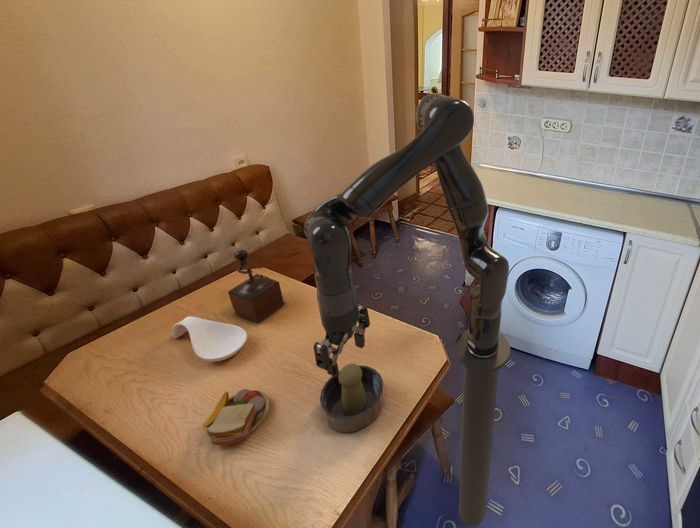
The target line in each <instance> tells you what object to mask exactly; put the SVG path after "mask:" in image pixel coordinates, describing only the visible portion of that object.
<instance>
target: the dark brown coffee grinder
mask: <svg viewBox="0 0 700 528" xmlns="http://www.w3.org/2000/svg"><path fill="white" fill-rule="evenodd" d="M248 255H249V254H248V251H247V250H246V249H238V250H237V251H236V252H235V253H234V254H233V257H234V259H236V260H237V261H239V266H238V267H237V269H236V270H237V273H239V274H244V275H248V277H249V278H248V279H246V280H244V281H242V282H241V283H239V284H237V285H236V286H234V287H233V288H231V289H229V290H228V291H227V294H228V296H229V300H230V303H231V306H232V309H233V311H234V314H235V315H236V316H237V317H238V318H241V319H244V320H246V321H249V322H252V323H254V324H256V325H259V324H260V323H261V322H263V321H265V320H266V319H268V318H269V317H270V316H272V314H274V313H276V312H277V311H279V309H281V308H282V307H283V306H284V305H285V301H284V298H283V293H282V290H281V289H282V288H281V285H280V282H279V281H278V280H275V279H273V278H270V277H268V276H265V275H263V274H258V273H256V274H254V275H253V270H252V267H251V266H247V267H246V268H245V269H246V270H242V269H243V268H244V266H246V265H247V264H248V263H249V262H250V260H249V259H248Z"/></svg>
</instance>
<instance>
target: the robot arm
mask: <svg viewBox="0 0 700 528" xmlns="http://www.w3.org/2000/svg"><path fill="white" fill-rule="evenodd" d="M415 120H416V124H417V127H418V130H419V133H418V134H417V135H416V136H415V137H414V138H413V139H412V140H411V141H410V142H408V143H407V144H405V145H404V146H402V147H401V148H399V149H397V150H396V151H394V152H392V153H390V154H389V155H387V156H385V157H383V158H381V159H379V160H377V161H376V162H374V163H373V164H370V165H369V167H368V168H366V169H365V170H364V171H362V172H361V173H360V174H359V175H358V176H357V177H356V178H354V180H353V181H352V182H351V183H349V185H347V187H345V188H344V190H343V191H341V192H339V193H337V194H335V195H334V196H332V197H330V198H328V199H327V200H326V201H324V202H323V203H320V205H318V206H317V207H315V208H314V209H313V210H312V211H311V212H310V213H309V215H307V217H306V218H305V220H304V224H303V232H304V235H305V238H306V240H307V243H308V245H309V249H310V252H311V256H312V261H313V265H314V266H313V276H314V282H315V288H316V299H317V305H318V311H319V314H320V320H321V325H322V328H323V329H324V331H325V336H324V339H323V340H322V341H321V342H318V341H316V342H314V343H313V353H314V359H315V365H316V367H317V368H320V369H322V370H324V371H326V373H327V375H329V376H330V377H332V376H333V377H334V376H335V377H337V376H338V375H339V371H340V370H339V365H338V362H337V361H338V358H339V355H341V354H342V353H343V349H344V346H345V345H346V344H347V342H348V341H349V340H350V339H352V338H353V339H354V345H355V346H356V347H358V348H359V349H364V347H365V346H366V345H365V343H366V338H365V334H366V329H367V328H368V329H369V328H370V326H371V321H370V316H369V311H368V307H367V306H364V305H361V304H359V303H358V302H359V301H358V295H357V288H356V285H355V282H354V275H353V269H352V263H351V262H352V240H351V234H350V231H349V228H347V226H348V225H350V223H352V222H354V221H355V220H356V219H361V220H367V219H369V218H370V217H372V216H373V215H374V214H375V213H376V212H377V211H379V210H380V209H381V207H383V205H384V204H386V203H387V202H388V201H389V200H390V199H391V198H392V197H393V196H394V195H395V194H397V192H398V191H399V190H401V188H403V187H404V186H405V185H406V184H407V183H409V182H410V181H411V180H412V179H414V178H415V177H416V176H418V175H419V174H420V173H421V172H423V171H424V170H425V169H427V168H428V167H430V166H431V165H432V164H434V166H435V170H436V174H437V177H438V181H439V184H440V187H441V189H442V192H443V196H444V199H445V203H446V205H447V208H448V213H449V215H450V218H451V220H452V222H453V225H454V228H455V231H456V233H457V237H458V239H459V243H460V248H461V253H462V260H463V264H464V268H465V270H466V271H467V273H468V274H469V275H470V276H471V277H472V278H474V279H475V280H476V281H477V282H478V283H479V284H477V285H475V286H473V287H472V288H471V289H470V291H469V298H468V321H467V322H468V323H467V330H468V341H467V349H468V351H469V353H470V354H471V355H473V356H474V357H476V358H479V359H488V358H491V357H493V356H495V355H496V354H497V352H498V348H499V333H501V323H502V322H501V321H502V309H503V300H504V298H505V296H506V293H507V289H508V288H507V287H508V282H509V276H510V275H509V274H510V264H509V261H508V259H507V258H506V257H505V256H503V255H502V254H501V253H499V252H498V251H496V250H495V249H494V248H492V247H491V246H490V244H489V242H488V240H487V238H486V234H485V231H484V230H485V229H484V227H485V224H486V222H487V219H488V216H489V205H488V204H489V203H488V200H487V197H486V192H485V189H484V186H483V183H482V181H481V179H480V178H479V175H478V174H477V172H476V170H475V169H474V167H473V166H472V164H471V162H470V161H469V159H468V158H467V156H466V154H465V152H464V150H463V147H462V143H463V142H464V141H465V140H466V139H467V138H468V137H469V136H470V134H471V133H472V132H473V128H474V124H475V115H474V112H473V109H472V107H471V106H470V105H469V104H468V103H467V102H466V101H464V100H462V99H460V98H458V97H455V96H450V95H448V94H443V93H439V92H433V93H428V94H426V95H425V96H424V97H422V98H421V99H420V100H419V103H418V105H417V108H416V112H415ZM357 324H358V325H357ZM333 345H334V346H337V348H336V347H334V346H333ZM331 354H332V357H331Z"/></svg>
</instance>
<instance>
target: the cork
mask: <svg viewBox="0 0 700 528" xmlns="http://www.w3.org/2000/svg"><path fill="white" fill-rule="evenodd" d="M339 371H340V372H339V376H338V379H339V382H340V384H341V385H342V398H341V407H342V410H343V411H344V412H345V413H347V414H356V413H358V412H360V411H361V410H363V409H364V407H365V406H366V404H367V396H366V393H365V391H364V388H363V385H362V382H361V378H362V370H361V368H360V367H359V366H358V364H356V363H348V364H346V365H344V366H343V367H342V368H341V369H340V370H339Z"/></svg>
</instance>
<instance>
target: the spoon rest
mask: <svg viewBox="0 0 700 528" xmlns="http://www.w3.org/2000/svg"><path fill="white" fill-rule="evenodd" d="M187 332H188V335H189V338H190V342H191V343H190V344H191V346H192V350H193V351H194V353H195V355H196V356H197V357H198V358H199V359H200V360H202V361H205V362H213V363H215V362H221V361H224V360H227V359H229V358H231V357H233V356H234V355H236V354H237V353H238V352H239V351H240V350H241V349H242V348H243V347H244V346H245V344H246V342H247V340H248V333H247V331H246V330H245V329H244V328H242V327H240V326H238V325H235V324H230V323H226V322H222V321H221V322H220V321H216V320H211V319H210V320H209V319H205V318H202V317H201V318H200V317H197V316H192V315H191V316H186V317H185V318H184V319H182V320H181V321H178V322H176V323H175V324H174V325H173V327H172V330H171V334H172V338H173V339H178V338H179V337H181V336H183V335H185V334H186V333H187Z"/></svg>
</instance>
